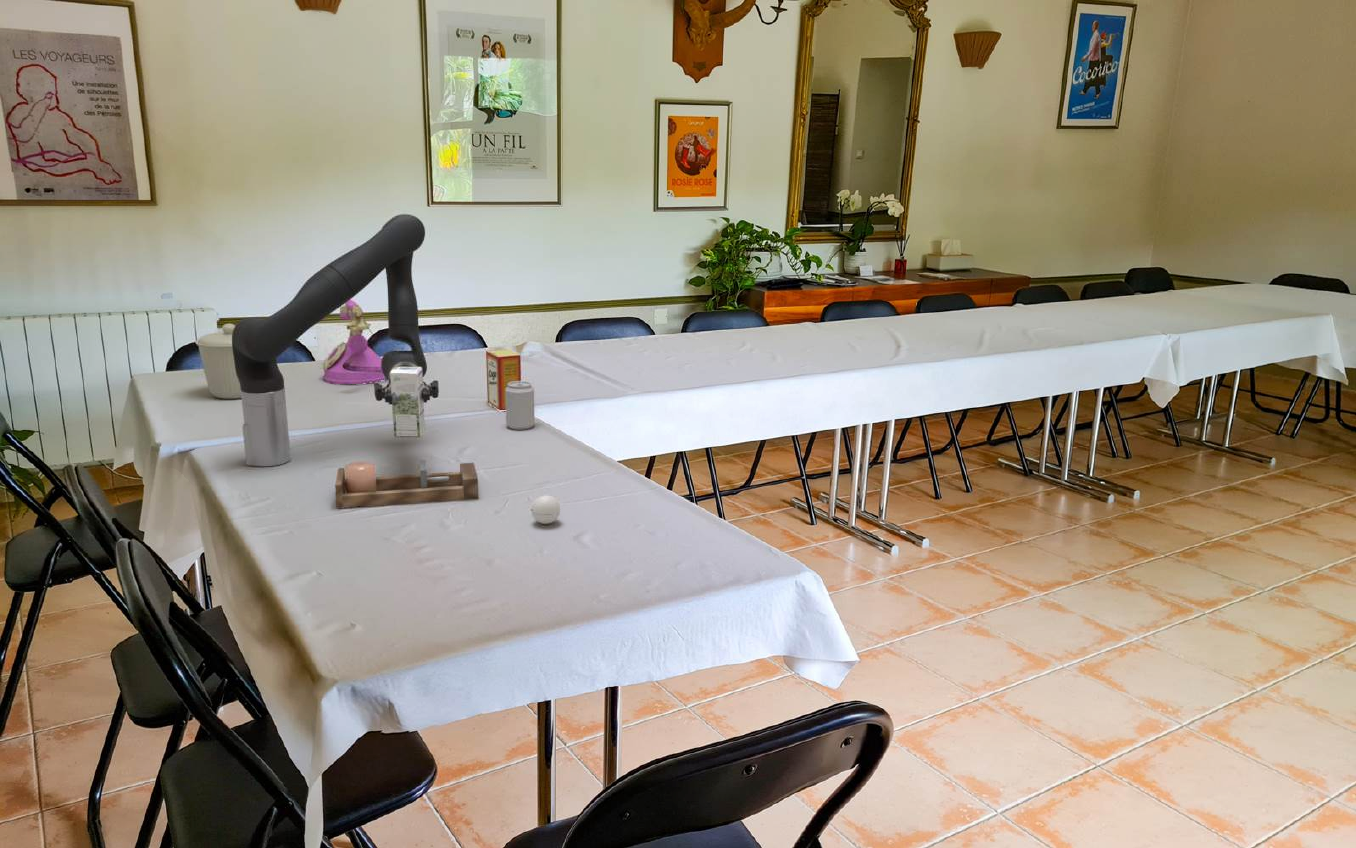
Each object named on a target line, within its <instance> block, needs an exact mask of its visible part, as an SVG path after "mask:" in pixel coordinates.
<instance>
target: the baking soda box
mask: <svg viewBox="0 0 1356 848" xmlns="http://www.w3.org/2000/svg"><path fill="white" fill-rule="evenodd" d="M485 353H486V354H485V357H486V358H485V359H486V386H487V387H486V390H487V404H488V403H490V404H491V405H492V406H494V407H496V408H497V409H499V410H506V398H505V389H506V388H507V387H508V383H510V382H514V381H522V371H521V370H522V365H521V355H520V354H518V353H517V352H514V351H512V350H510V349H507V348H506V349H497V350H485Z"/></svg>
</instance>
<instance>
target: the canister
mask: <svg viewBox="0 0 1356 848" xmlns="http://www.w3.org/2000/svg"><path fill="white" fill-rule="evenodd" d="M235 326H236V325H235V324H233V323H226V324H223V326H222V328H221V329H222V331H218V332H217V331H216V332H212V333H208V334H204V335H202V336H200V337H199V338H198V339H196V340H195V341H194V342H195V344H196V345H197V346H198V350H199V354H200V358H201V364H202V369H203V372H204V376H205V379H206V383H207V387H208V390H209V392H210V394H211V395H212V396H213V397H215V398H219V399H225V400H228V399H229V400H235V399H236V400H237V399H242V398H241V389H240V383H239V380H238V378H237V375H236V370H235V363H234V356H233V348H232V333H233V330H234V328H235Z"/></svg>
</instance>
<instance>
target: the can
mask: <svg viewBox="0 0 1356 848" xmlns="http://www.w3.org/2000/svg"><path fill="white" fill-rule="evenodd" d="M505 398H506V411H505V425H506V426H507V427H508V428H509V429H511V430H514V431H516V430H517V431H524V430H525V431H526V430H530V429H532V428H533V426H534V425H535V423H536V421H535V420H536V419H535V388H534V387H533V386H532V382H530V381H526V380H521V381H514V382H510V383H508V387H507V388H506V389H505Z"/></svg>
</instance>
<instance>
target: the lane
mask: <svg viewBox="0 0 1356 848" xmlns="http://www.w3.org/2000/svg"><path fill="white" fill-rule="evenodd" d="M459 469H460V470H459V471H452V472H451V471H449V472H436V473H435V472H434V473H426V475H427V477H443V476H449V481H438V482H427V488H424V489H421V477H420V473H418V474H404V475H388V476H376V485H377V492H364V493H349V494H347V490H346V476H345V467H338V469H337V475H336V480H335V485H334V487H335V501H336V509H337V508H338V509H345V508H344V507H352V508H358V507H357V506H366V507H379V506H392V505H394V506H395V505H406V504H421V503H435V502H447V501H448V502H449V501H462V500H463V501H464V500H476V499H477V500H478V499H479V479H478V473H477V470H476V466H475V463H474V462H465V463H464V462H461V463H459ZM342 507H343V508H342Z"/></svg>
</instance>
